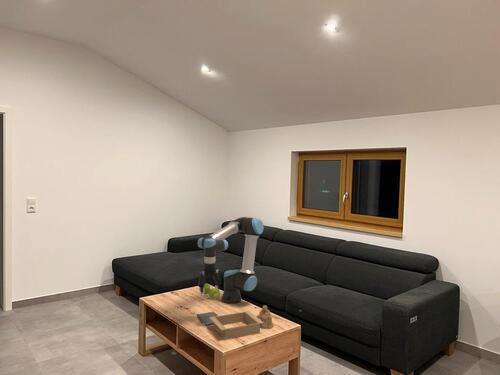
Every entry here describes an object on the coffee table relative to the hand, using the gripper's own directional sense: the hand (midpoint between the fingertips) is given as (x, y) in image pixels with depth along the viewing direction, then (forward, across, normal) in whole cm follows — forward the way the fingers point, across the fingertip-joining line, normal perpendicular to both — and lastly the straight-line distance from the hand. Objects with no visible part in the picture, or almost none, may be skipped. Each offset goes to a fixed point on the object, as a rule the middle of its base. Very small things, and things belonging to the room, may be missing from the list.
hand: (209, 296), depth 259 cm
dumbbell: (+1, 0, 0) cm, 1 cm away
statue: (+16, -29, +23) cm, 41 cm away
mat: (+16, 0, 0) cm, 16 cm away
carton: (+16, -10, +22) cm, 29 cm away
